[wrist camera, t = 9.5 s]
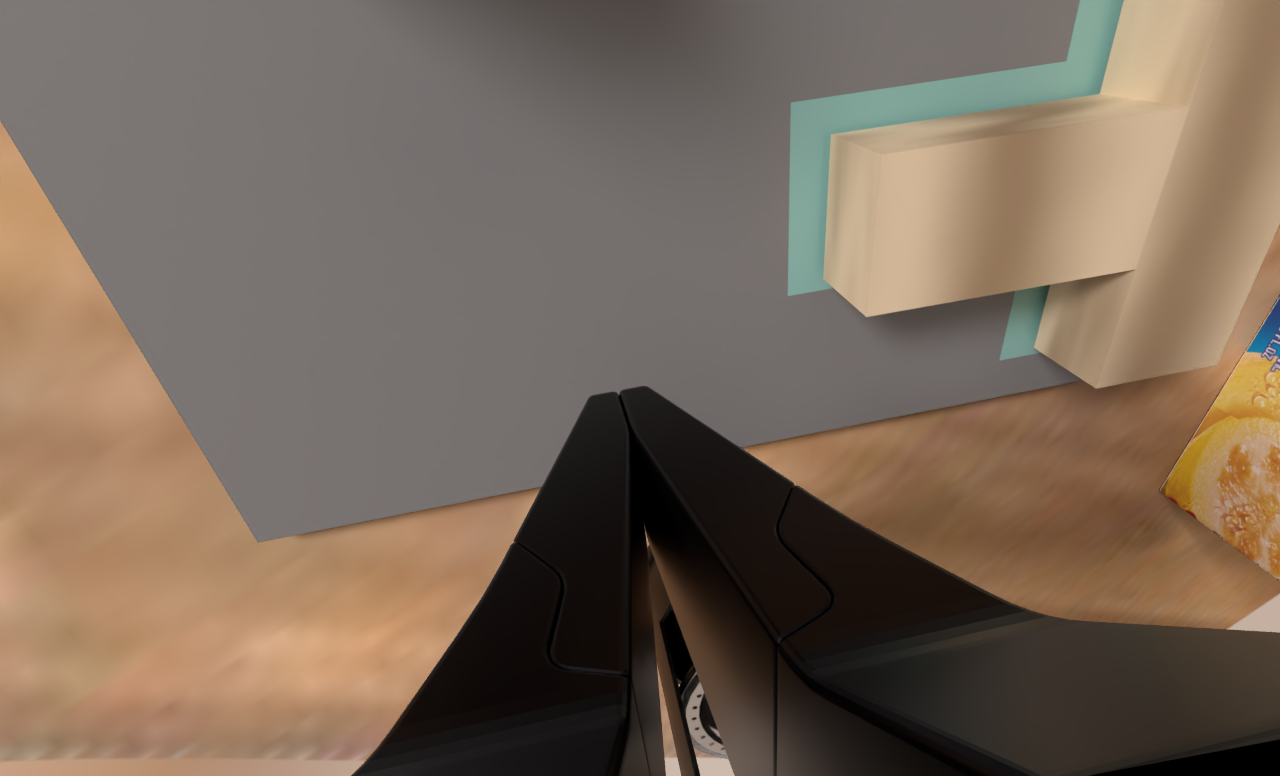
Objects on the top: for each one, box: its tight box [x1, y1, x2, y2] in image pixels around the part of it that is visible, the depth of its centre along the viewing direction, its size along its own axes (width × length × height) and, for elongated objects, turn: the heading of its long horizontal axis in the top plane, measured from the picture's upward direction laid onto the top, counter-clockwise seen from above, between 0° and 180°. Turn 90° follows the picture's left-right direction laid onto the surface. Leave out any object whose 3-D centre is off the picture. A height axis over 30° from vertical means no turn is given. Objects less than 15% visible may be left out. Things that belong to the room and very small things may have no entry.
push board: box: [0, 0, 1124, 542], centre depth 20 cm, size 36×18×1 cm, turn 97°
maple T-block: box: [823, 0, 1280, 389], centre depth 19 cm, size 13×13×3 cm
